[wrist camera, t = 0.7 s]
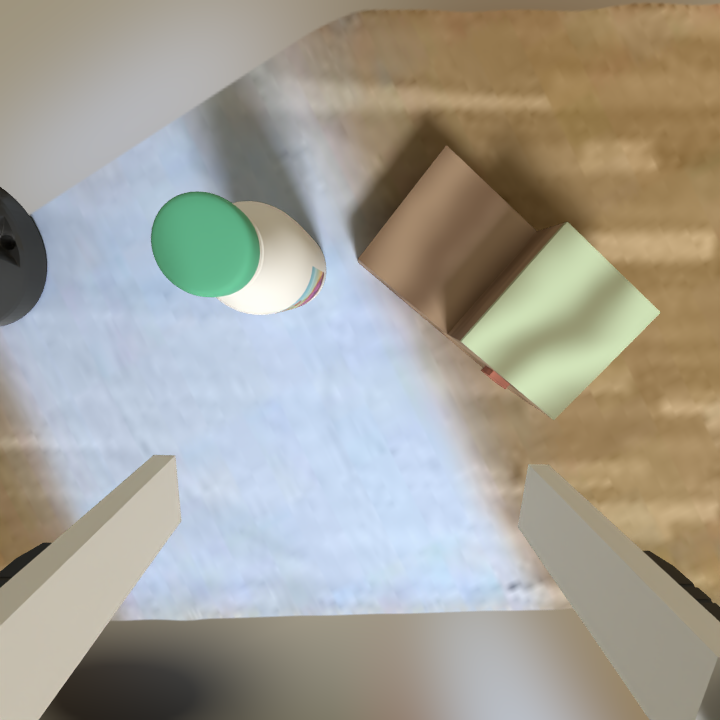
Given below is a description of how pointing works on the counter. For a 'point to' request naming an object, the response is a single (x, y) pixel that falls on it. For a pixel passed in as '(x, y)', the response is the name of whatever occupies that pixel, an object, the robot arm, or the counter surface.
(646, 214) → the counter surface
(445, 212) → the plinth
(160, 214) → the milk bottle
